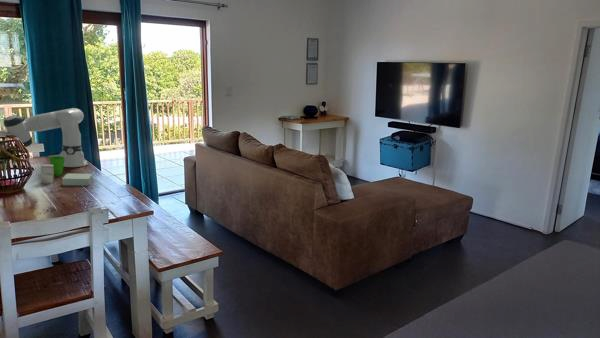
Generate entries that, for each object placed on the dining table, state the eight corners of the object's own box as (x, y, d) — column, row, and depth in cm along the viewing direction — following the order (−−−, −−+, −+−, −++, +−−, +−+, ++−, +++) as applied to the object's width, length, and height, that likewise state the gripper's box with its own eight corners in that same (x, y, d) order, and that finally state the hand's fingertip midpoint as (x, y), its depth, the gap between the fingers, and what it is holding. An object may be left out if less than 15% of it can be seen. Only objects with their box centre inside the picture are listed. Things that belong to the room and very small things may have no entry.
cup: (68, 174, 276) (68, 157, 274) (59, 177, 267) (59, 159, 265) (55, 172, 277) (54, 155, 275) (45, 175, 268) (45, 158, 266)
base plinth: (67, 179, 262) (67, 173, 262) (92, 180, 266) (92, 173, 266) (62, 185, 250) (62, 178, 249) (89, 185, 254) (88, 178, 254)
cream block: (44, 181, 256) (43, 164, 254) (53, 181, 257) (53, 164, 255) (41, 183, 251) (41, 166, 249) (51, 183, 253) (51, 166, 251)
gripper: (2, 173, 256) (29, 173, 260) (-11, 181, 237) (18, 181, 241) (2, 162, 254) (28, 163, 259) (-12, 170, 235) (17, 170, 239)
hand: (23, 172), depth 249 cm, fingers open, 8 cm apart
